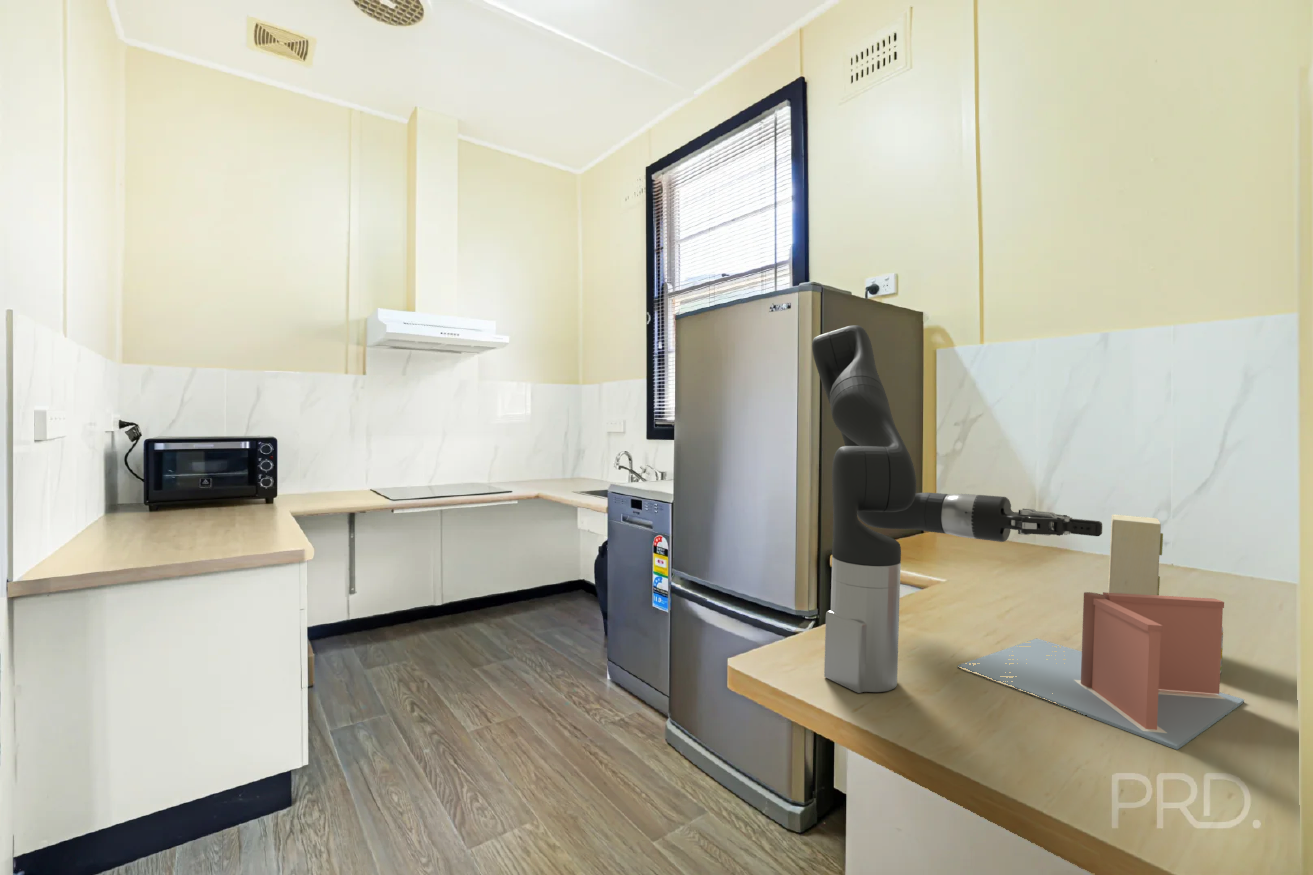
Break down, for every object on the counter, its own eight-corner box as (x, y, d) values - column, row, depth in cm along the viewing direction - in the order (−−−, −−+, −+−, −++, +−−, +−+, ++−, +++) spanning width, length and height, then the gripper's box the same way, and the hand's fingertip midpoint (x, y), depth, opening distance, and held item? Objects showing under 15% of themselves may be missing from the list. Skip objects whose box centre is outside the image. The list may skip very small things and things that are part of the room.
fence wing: (1106, 685, 82) (1109, 595, 82) (1099, 680, 84) (1102, 592, 83) (1220, 694, 80) (1224, 601, 80) (1211, 689, 82) (1214, 598, 81)
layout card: (1177, 749, 67) (1177, 745, 67) (957, 667, 89) (957, 664, 89) (1244, 702, 80) (1244, 698, 80) (1036, 640, 102) (1036, 638, 102)
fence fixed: (1162, 733, 71) (1166, 624, 71) (1140, 731, 71) (1144, 622, 71) (1095, 685, 84) (1098, 592, 84) (1076, 683, 85) (1080, 591, 84)
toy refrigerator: (1161, 648, 99) (1166, 523, 99) (1106, 638, 104) (1110, 518, 103) (1158, 635, 106) (1162, 518, 105) (1106, 626, 110) (1110, 513, 110)
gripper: (964, 496, 97) (1095, 507, 85) (987, 492, 106) (1108, 501, 94) (963, 542, 97) (1094, 559, 85) (986, 534, 106) (1106, 548, 94)
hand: (1101, 528), depth 90 cm, fingers closed
